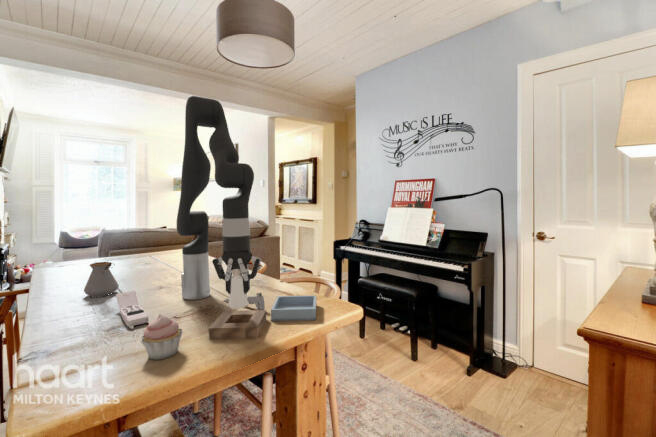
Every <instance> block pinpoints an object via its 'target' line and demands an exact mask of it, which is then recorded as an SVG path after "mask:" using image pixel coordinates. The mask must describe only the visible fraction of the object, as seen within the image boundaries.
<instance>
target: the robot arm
mask: <svg viewBox="0 0 656 437" xmlns="http://www.w3.org/2000/svg"><path fill="white" fill-rule="evenodd" d="M184 115H185V117H184V122H185V124H184V126H185V127H184V130H185V131H184V132H185V133H184V136H185V138H184V150H183V159H182V166H181V167H182V168H181V184H180V185H181V186H180V195H179V196H180V198H179V204H178V211H177V215H176V216H177V217H176V231H177V233H178V235H180V236H183V237H188V236H196V238H195V239H194V240H193V241H191V242H189V243H187V244H185V245H183V246H182V266H183V267H182V269H183V270H182V272H183V273H181V275H180V276H181V279H180V280H181V297H182V298H181V299H185V300H192V301H193V300H201V299H205V298H208V297H210V296H211V286H210V281H211V280H210V263H209V261H210V260H209V227H210V225H209V216H208V214H207V212H206V211H205V210H194V211H191V208H192V207H193V204H194V202H196V200H197V199H198V197H199V196H200V195H201V194H202V193H203V192H204V191H205V189H206V188H207V186H208V185H209V183H210V177H211V176H210V175H211V169H212V166H211V161H210V158H209V157H208V155H207V153H206V152H205V150H204V148H203V145H202V144H201V141H200V139H199V136H198V127H203V128H209V129H210V128H211V129H212V128H214V131H213V132H212V134H211V136H210V137H209V141H208V147H209V151H210V153H211V155H212V159H213V161H214V180H215V183H216V184H217V185H218V186H219V187H221V188H223V189H238V191H237V192H236V194H235V195H232V196H228V197H225V198H223V200H222V224H221V227H222V228H221V229H222V251H223V252H222V255H221V256H220V257H216V258H214V259H212V261H211V262H212V265H213V266H214V267H213V268H214V269H215V272H216V274H217V277H218V279H219V280H224V281H225V291H226V292H227V294H228V295H229V294H230V288H231V277H232V276H233V269H240V270H241V273H242V276H243V277H244V281H243V286H244V294H247V295H248V292H250V290H251V280H253V279H255V277H256V276H257V274H258V271H259V268H260V265H261V262H262V258H261V257H257V256H254V255H253V253H252V250H251V225H250V221H249V220H250V219H249V217H250V215H249V212H250V211H249V201H250V197H251V191H252V188H253V185H254V179H255V172H254V170H253V167H252V166H250V164H248V163H242V162H239V161H240V156H239V152H238V151H237V149H236V147H235V144H234V142H233V141H232V138H231V135H230V132H229V126H228V123H227V119H226V114H225V111H224V107H223V105H222V103H221V102H220V101H219V100H216V99H214V98H208V97H202V96H197V95H189V96H188V98H187V100H186V103H185V114H184ZM223 262H224V264H225V265H226V270H225V271H226V272H225V271H224V267H223V265H222V264H223ZM250 262H252V265H253V267H252V269H251V273H250V271H249V266H248V265H249V263H250Z"/></svg>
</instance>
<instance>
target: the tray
mask: <svg viewBox="0 0 656 437" xmlns="http://www.w3.org/2000/svg"><path fill="white" fill-rule="evenodd" d="M316 316H317V295H314V294H313V295H277V296H276V299H275V300H274V303H273V304H272V307H271V309H270V321H271V322H280V321H281V322H291V321H293V322H294V321H316Z"/></svg>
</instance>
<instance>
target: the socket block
mask: <svg viewBox="0 0 656 437" xmlns="http://www.w3.org/2000/svg"><path fill="white" fill-rule="evenodd" d="M266 322H267V310H266V309H265V310H255V309H254V310H224V311H223V312H222V313H221V314H220V315H219V316H218V317H217V318H216V319H215V321H214V322H213V323H212V324H211V325H210V326H208V339H209V340H226V339H227V340H230V339H231V340H233V339H236V340H237V339H258V338H259V336H260V334H261V332H262V330H263V327H264V325H265V323H266Z"/></svg>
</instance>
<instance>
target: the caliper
mask: <svg viewBox="0 0 656 437" xmlns="http://www.w3.org/2000/svg"><path fill="white" fill-rule="evenodd" d="M247 300H248V305H254V304H255V307H256V309H257V310H266V309H265V308H266V307H265V298H264V295H263V294H262V292H257V293H256V294H255V295H250V296H247ZM223 302H225V303H229V297H227V298H225V299H224V300H223Z"/></svg>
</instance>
